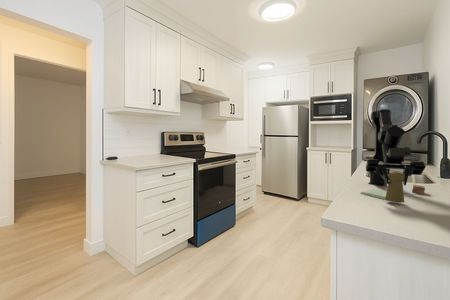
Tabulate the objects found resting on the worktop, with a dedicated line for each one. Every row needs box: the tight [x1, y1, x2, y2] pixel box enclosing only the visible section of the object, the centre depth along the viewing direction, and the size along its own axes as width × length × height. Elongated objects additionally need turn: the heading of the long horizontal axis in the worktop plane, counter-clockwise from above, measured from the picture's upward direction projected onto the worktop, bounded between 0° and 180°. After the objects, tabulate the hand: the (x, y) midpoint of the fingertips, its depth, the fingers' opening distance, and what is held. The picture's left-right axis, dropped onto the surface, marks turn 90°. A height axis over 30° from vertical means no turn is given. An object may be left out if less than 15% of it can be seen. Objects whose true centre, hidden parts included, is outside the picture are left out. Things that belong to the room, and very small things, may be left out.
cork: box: [384, 171, 405, 204], centre depth 88 cm, size 6×6×11 cm
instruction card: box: [384, 186, 417, 195], centre depth 108 cm, size 12×9×1 cm
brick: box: [411, 184, 426, 195], centre depth 104 cm, size 4×4×3 cm
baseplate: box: [360, 188, 387, 201], centre depth 100 cm, size 11×11×1 cm
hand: (396, 184), depth 87 cm, fingers closed on cork, 5 cm apart
